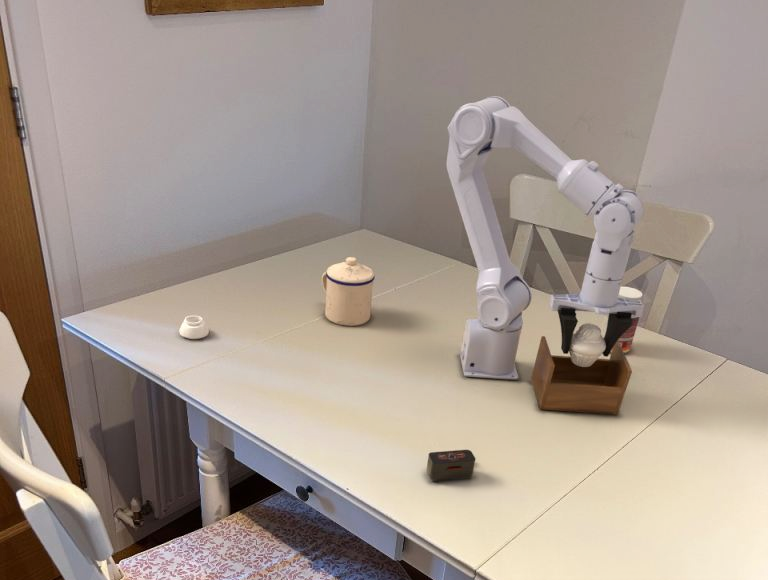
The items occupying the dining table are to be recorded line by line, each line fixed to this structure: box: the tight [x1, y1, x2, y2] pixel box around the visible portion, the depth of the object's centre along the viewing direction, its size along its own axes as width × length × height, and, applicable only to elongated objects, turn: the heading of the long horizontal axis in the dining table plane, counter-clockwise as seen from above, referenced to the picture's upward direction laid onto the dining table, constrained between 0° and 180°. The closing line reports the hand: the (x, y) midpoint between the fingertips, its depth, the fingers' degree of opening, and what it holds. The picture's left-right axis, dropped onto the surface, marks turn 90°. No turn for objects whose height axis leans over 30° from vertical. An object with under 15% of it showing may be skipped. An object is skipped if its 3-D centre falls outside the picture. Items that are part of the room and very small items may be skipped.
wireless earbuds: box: [425, 449, 476, 482], centre depth 111 cm, size 5×7×3 cm, turn 105°
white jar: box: [179, 315, 210, 340], centre depth 138 cm, size 5×3×5 cm
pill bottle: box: [600, 286, 643, 354], centre depth 147 cm, size 6×6×11 cm
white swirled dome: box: [568, 322, 606, 367], centre depth 128 cm, size 6×6×7 cm
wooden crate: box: [531, 335, 633, 415], centre depth 129 cm, size 9×13×8 cm
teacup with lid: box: [321, 256, 376, 327], centre depth 148 cm, size 12×9×12 cm
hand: (584, 352), depth 128 cm, fingers closed on white swirled dome, 6 cm apart
